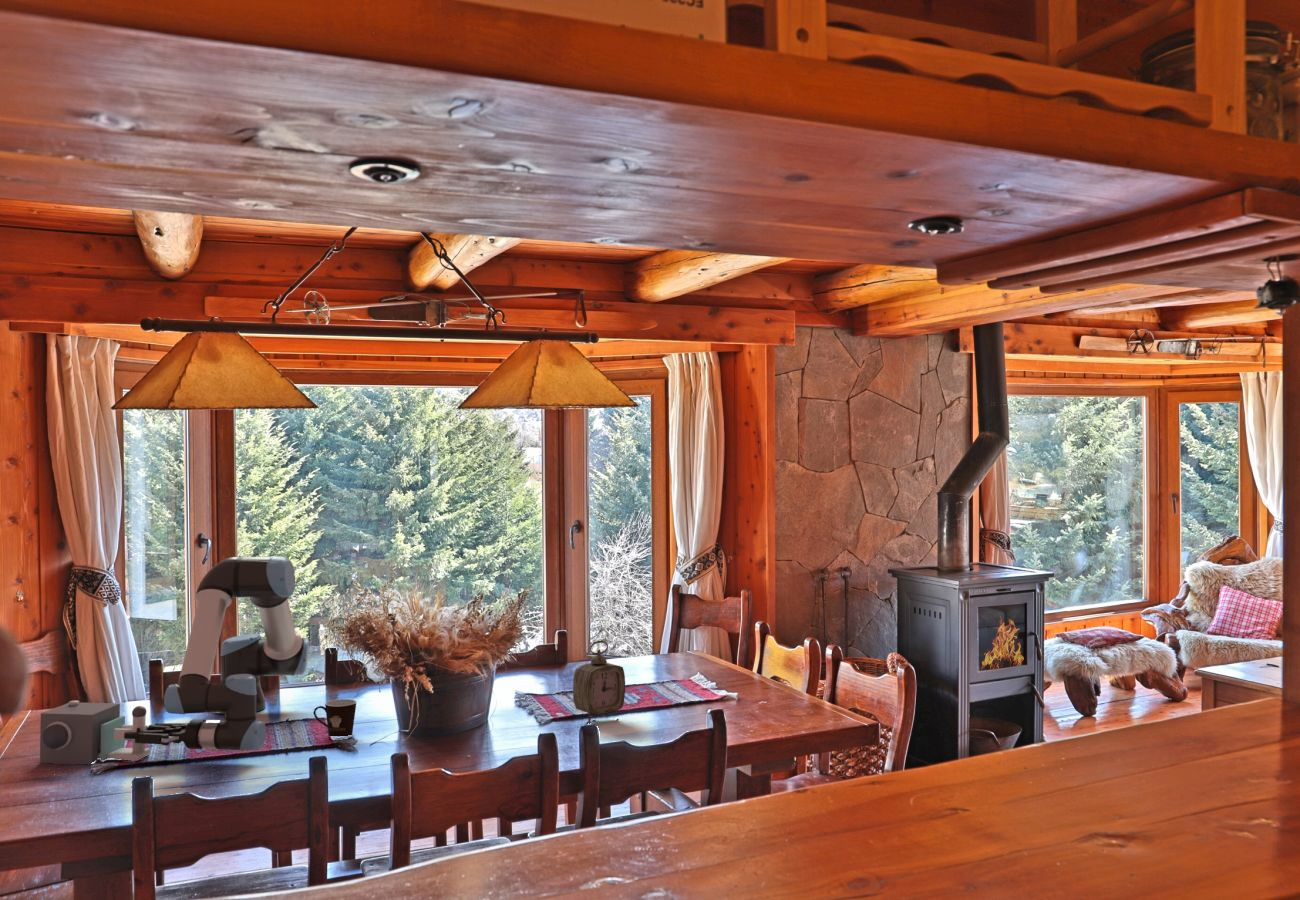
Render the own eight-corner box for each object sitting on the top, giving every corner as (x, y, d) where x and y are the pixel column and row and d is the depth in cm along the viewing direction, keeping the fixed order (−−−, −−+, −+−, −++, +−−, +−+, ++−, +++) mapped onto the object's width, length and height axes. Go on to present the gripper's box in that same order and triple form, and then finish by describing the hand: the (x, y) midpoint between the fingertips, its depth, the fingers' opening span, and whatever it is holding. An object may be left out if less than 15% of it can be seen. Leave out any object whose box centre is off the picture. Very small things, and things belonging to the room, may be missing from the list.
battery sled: (154, 753, 269) (155, 702, 269) (134, 763, 260) (135, 710, 260) (85, 751, 270) (86, 700, 270) (63, 761, 261) (64, 708, 261)
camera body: (119, 751, 271) (119, 699, 271) (86, 767, 257) (87, 712, 257) (69, 750, 272) (70, 698, 272) (34, 765, 258) (35, 711, 258)
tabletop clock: (587, 729, 299) (588, 645, 299) (569, 722, 306) (570, 641, 306) (624, 721, 308) (625, 640, 309) (606, 715, 315) (607, 636, 315)
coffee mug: (362, 736, 288) (362, 701, 289) (339, 743, 281) (339, 707, 281) (334, 730, 294) (334, 696, 295) (310, 737, 287) (311, 702, 287)
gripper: (188, 757, 255) (100, 755, 257) (219, 740, 271) (136, 737, 273) (189, 728, 255) (100, 725, 257) (219, 712, 271) (136, 710, 273)
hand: (119, 732), depth 265 cm, fingers closed on battery sled, 3 cm apart
